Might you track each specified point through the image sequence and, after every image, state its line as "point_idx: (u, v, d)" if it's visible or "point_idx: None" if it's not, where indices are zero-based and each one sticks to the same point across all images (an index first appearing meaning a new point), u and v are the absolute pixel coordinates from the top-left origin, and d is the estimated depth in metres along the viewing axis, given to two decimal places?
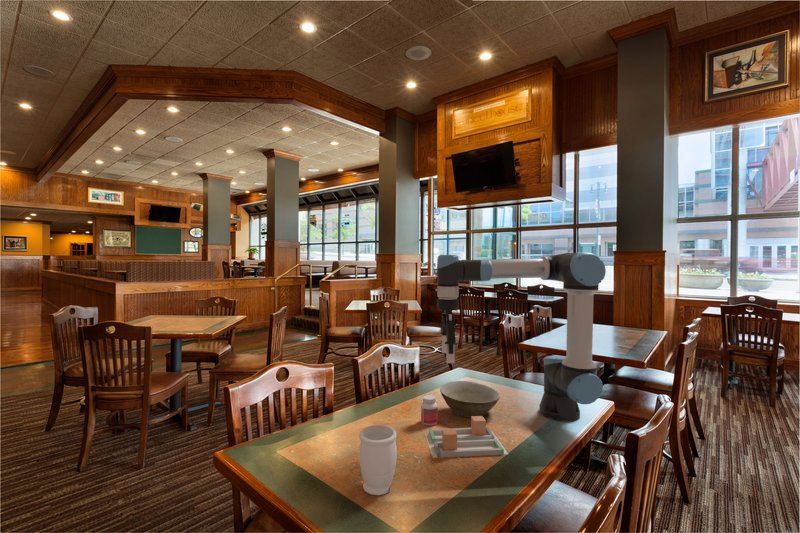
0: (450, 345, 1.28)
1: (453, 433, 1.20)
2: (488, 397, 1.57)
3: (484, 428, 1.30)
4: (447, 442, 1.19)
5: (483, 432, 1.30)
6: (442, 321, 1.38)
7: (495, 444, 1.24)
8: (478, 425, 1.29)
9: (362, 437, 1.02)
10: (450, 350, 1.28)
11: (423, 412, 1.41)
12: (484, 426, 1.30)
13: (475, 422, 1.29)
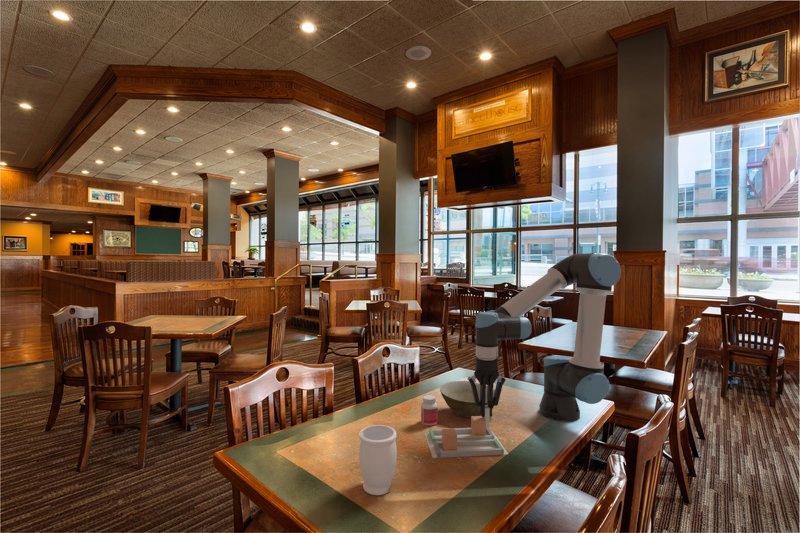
0: (480, 407, 1.32)
1: (453, 433, 1.20)
2: None
3: (484, 428, 1.30)
4: (447, 442, 1.19)
5: (483, 432, 1.30)
6: None
7: (495, 444, 1.24)
8: (478, 425, 1.29)
9: (362, 437, 1.02)
10: (480, 412, 1.32)
11: (423, 412, 1.41)
12: (484, 426, 1.30)
13: (475, 422, 1.29)
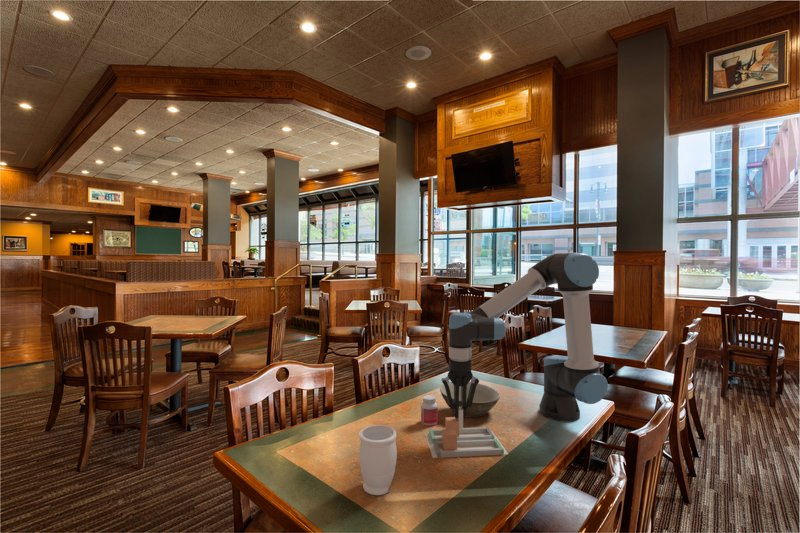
0: (454, 409, 1.31)
1: (453, 433, 1.20)
2: (488, 397, 1.57)
3: (457, 429, 1.29)
4: (447, 442, 1.19)
5: None
6: None
7: (495, 444, 1.24)
8: (452, 426, 1.29)
9: (362, 437, 1.02)
10: (454, 413, 1.31)
11: (423, 412, 1.41)
12: (457, 427, 1.29)
13: (448, 423, 1.29)
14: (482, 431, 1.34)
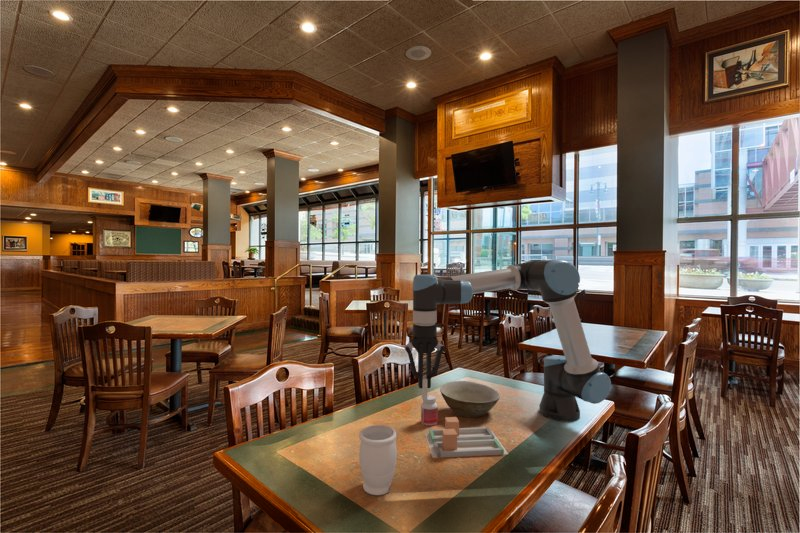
0: (418, 378, 1.21)
1: (453, 433, 1.20)
2: (488, 397, 1.57)
3: (457, 429, 1.29)
4: (447, 442, 1.19)
5: None
6: None
7: (495, 444, 1.24)
8: (451, 426, 1.29)
9: (362, 437, 1.02)
10: (418, 383, 1.21)
11: (423, 412, 1.41)
12: (457, 427, 1.29)
13: (448, 423, 1.29)
14: (482, 431, 1.34)
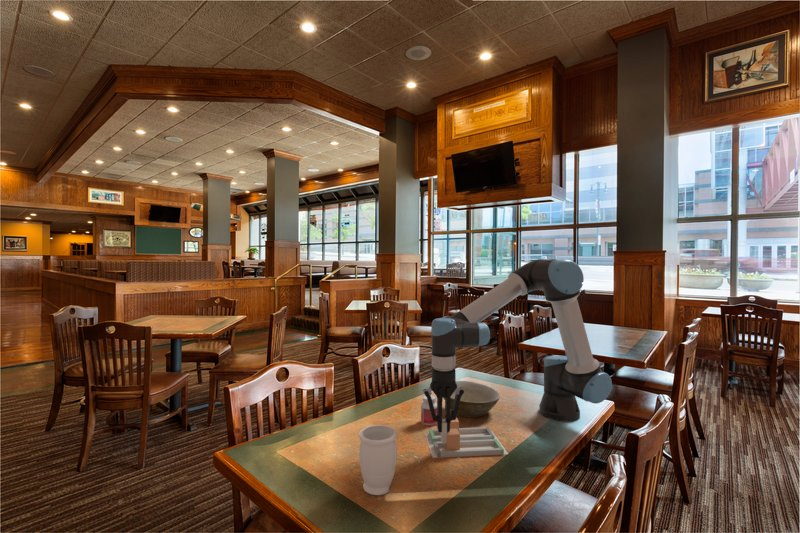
0: (437, 422, 1.21)
1: (456, 433, 1.20)
2: (488, 397, 1.57)
3: (457, 429, 1.29)
4: (450, 442, 1.19)
5: None
6: None
7: (495, 444, 1.24)
8: (451, 426, 1.29)
9: (362, 437, 1.02)
10: (437, 427, 1.21)
11: (423, 412, 1.41)
12: (457, 427, 1.29)
13: None
14: (482, 431, 1.34)
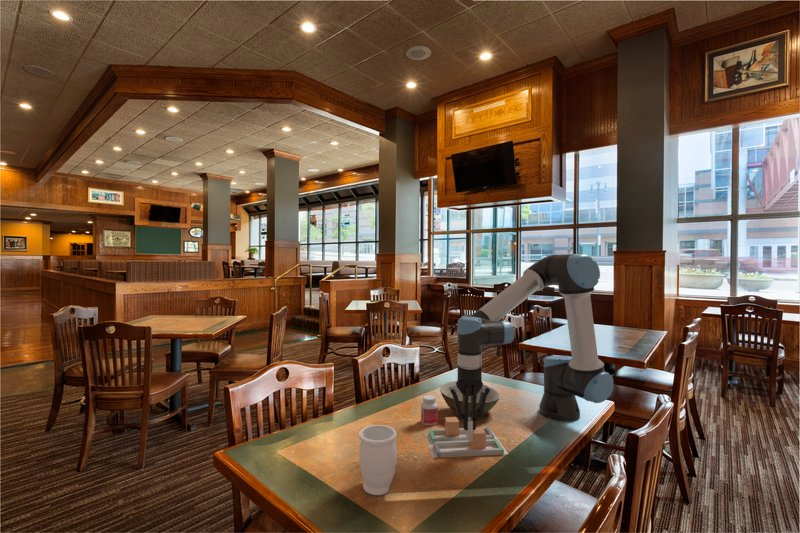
0: (463, 420, 1.22)
1: (482, 432, 1.21)
2: (488, 397, 1.57)
3: (457, 429, 1.29)
4: (476, 441, 1.20)
5: (456, 434, 1.29)
6: None
7: (495, 444, 1.24)
8: (451, 426, 1.29)
9: (362, 437, 1.02)
10: (463, 425, 1.22)
11: (423, 412, 1.41)
12: (457, 427, 1.29)
13: (448, 423, 1.29)
14: None
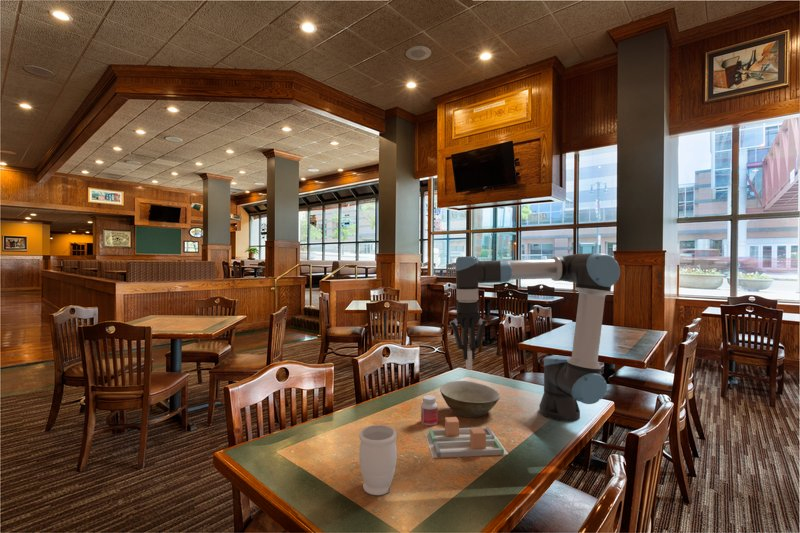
0: (463, 350, 1.33)
1: (482, 432, 1.21)
2: (488, 397, 1.57)
3: (457, 429, 1.29)
4: (476, 441, 1.20)
5: (456, 434, 1.29)
6: None
7: (495, 444, 1.24)
8: (451, 426, 1.29)
9: (362, 437, 1.02)
10: (463, 355, 1.33)
11: (423, 412, 1.41)
12: (457, 427, 1.29)
13: (448, 423, 1.29)
14: None
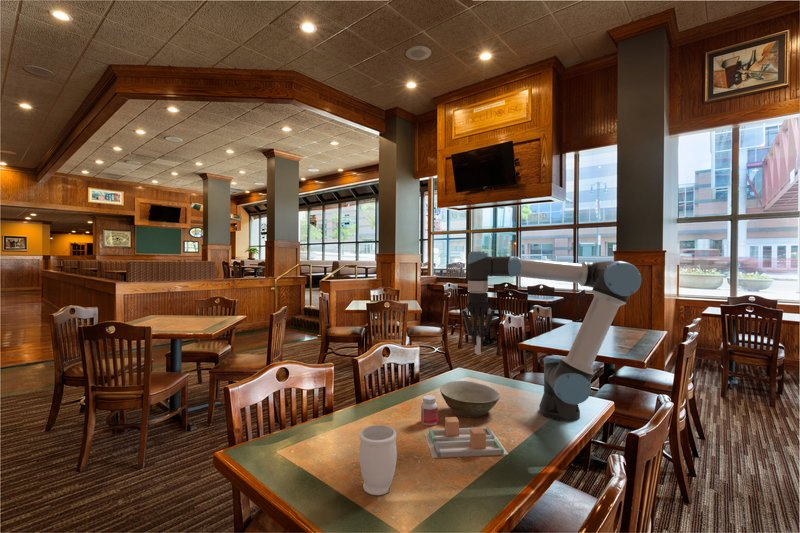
0: (472, 337, 1.46)
1: (482, 432, 1.21)
2: (488, 397, 1.57)
3: (457, 429, 1.29)
4: (476, 441, 1.20)
5: (456, 434, 1.29)
6: None
7: (495, 444, 1.24)
8: (451, 426, 1.29)
9: (362, 437, 1.02)
10: (472, 341, 1.46)
11: (423, 412, 1.41)
12: (457, 427, 1.29)
13: (448, 423, 1.29)
14: None
